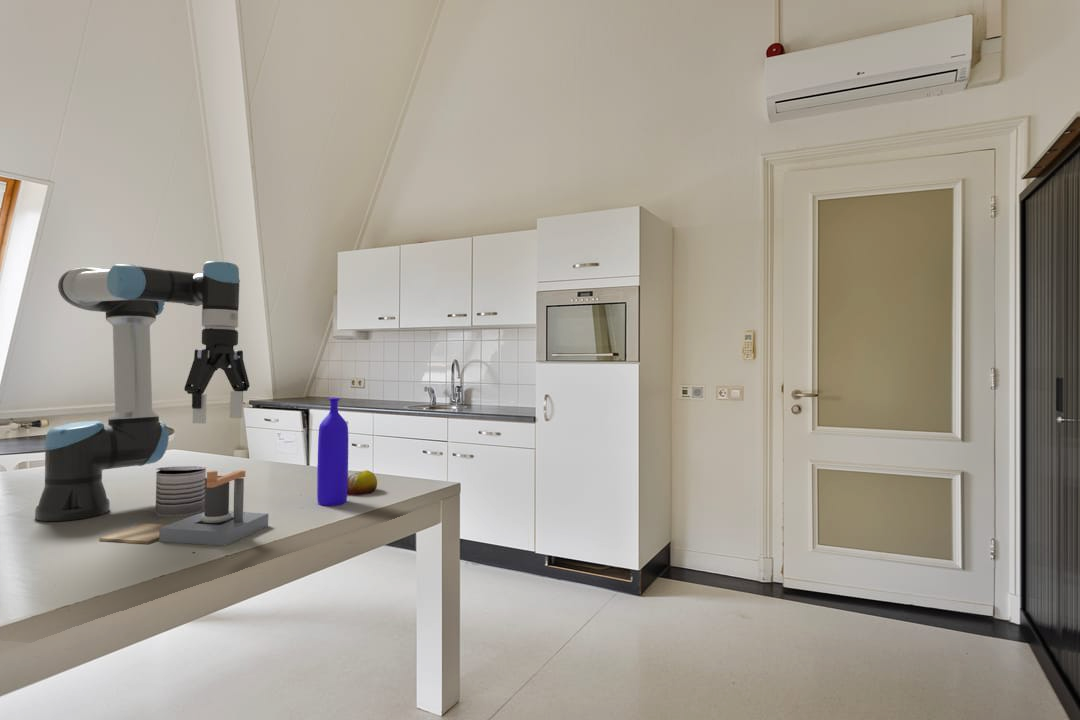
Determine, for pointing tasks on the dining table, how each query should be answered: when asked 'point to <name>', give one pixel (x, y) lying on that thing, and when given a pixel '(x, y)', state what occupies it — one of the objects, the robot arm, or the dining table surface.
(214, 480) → the ball-ended peach stick
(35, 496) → the dining table surface
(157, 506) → the can
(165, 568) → the dining table surface
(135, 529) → the coaster
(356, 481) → the fruit
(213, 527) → the socket
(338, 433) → the bottle
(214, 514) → the plug
